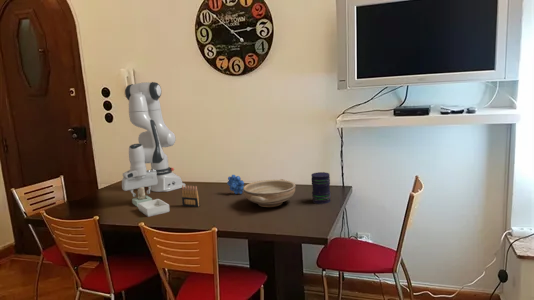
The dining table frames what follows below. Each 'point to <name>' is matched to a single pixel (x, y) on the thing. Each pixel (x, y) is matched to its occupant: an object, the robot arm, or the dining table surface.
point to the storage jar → (321, 188)
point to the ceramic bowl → (269, 192)
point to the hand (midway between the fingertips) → (141, 195)
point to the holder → (136, 201)
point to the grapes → (235, 184)
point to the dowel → (141, 193)
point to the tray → (153, 207)
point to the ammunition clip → (190, 196)
